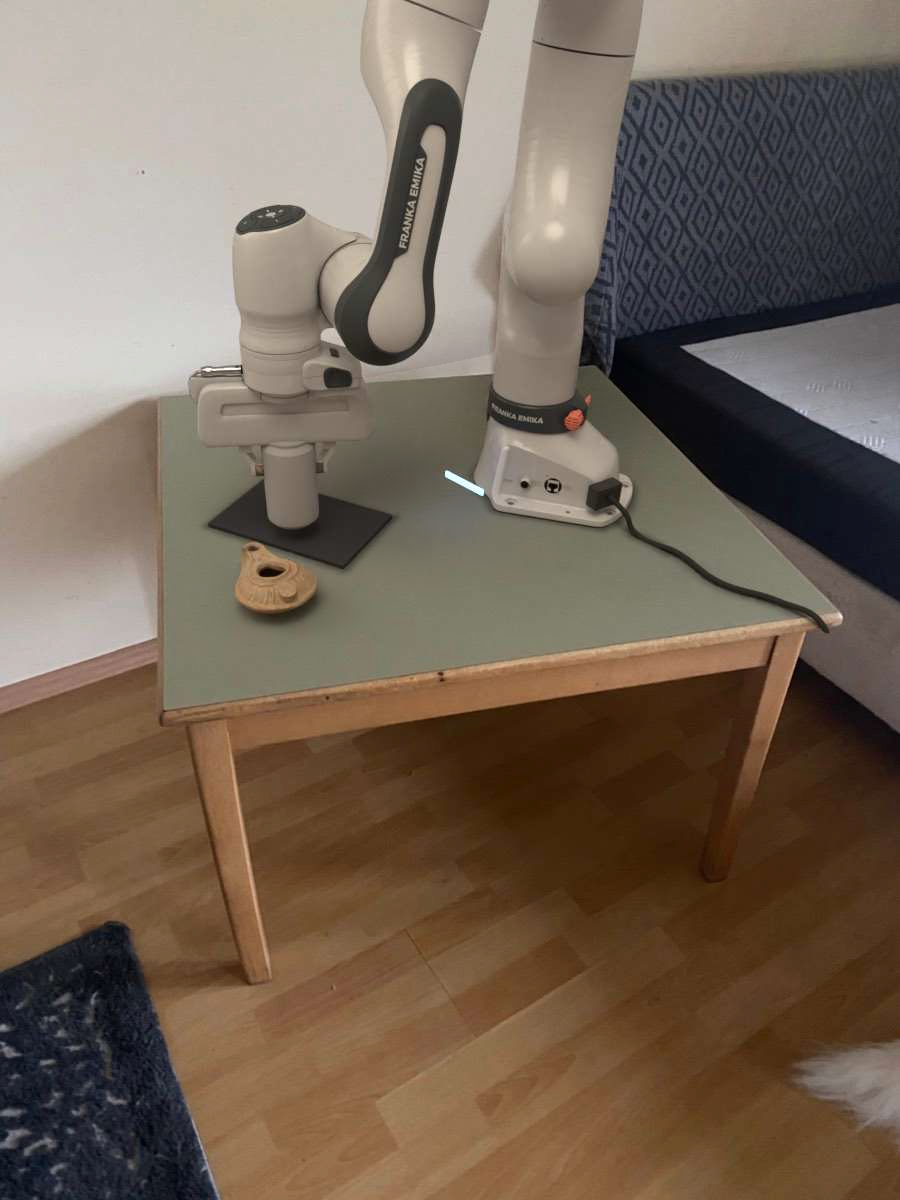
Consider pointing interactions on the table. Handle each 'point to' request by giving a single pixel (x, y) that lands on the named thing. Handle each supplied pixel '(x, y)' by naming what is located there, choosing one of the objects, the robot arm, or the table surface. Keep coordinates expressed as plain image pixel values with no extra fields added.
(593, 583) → the table surface
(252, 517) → the mat
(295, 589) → the pottery oil lamp
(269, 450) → the beverage can
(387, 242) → the robot arm
